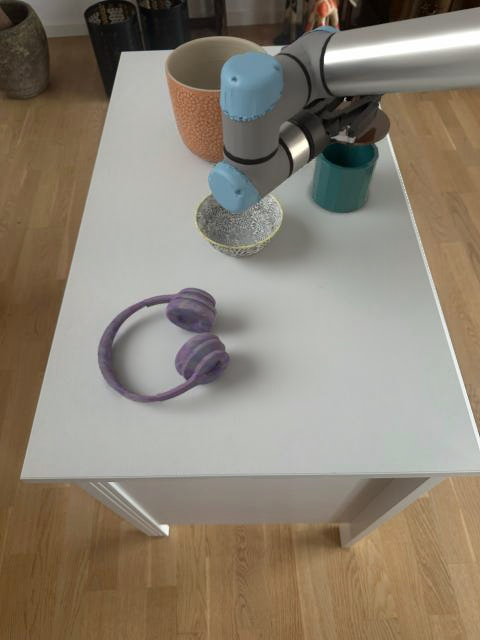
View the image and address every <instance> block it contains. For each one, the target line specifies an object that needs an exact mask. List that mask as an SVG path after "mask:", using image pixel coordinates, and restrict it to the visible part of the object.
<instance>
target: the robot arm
mask: <svg viewBox="0 0 480 640" xmlns="http://www.w3.org/2000/svg"><path fill="white" fill-rule="evenodd" d="M288 45H289V46H288V47H286V48H285V49H284V50H282V51H281V50H280V51H279V52H278V53H276V54H275V55H271V54H269V53H268V54H266V53H262V52H246V53H245V54H243V55H240V54H238V55H235V56H233V57H231V58H230V59H229V60H228V61H227V62H226V63H225V64H224V66H223V68H222V71H221V96H220V106H221V111H222V126H223V142H224V145H223V155H224V159H223V161H222V162H218V163H217V164H216V165H215V166H214V167H213V168H211V169H210V172H209V174H208V178H207V179H208V186H209V190H210V193H211V192H212V194H213V196H214V198H215V199H216V201H217V202H218V203H219V204H220V205H221V206H222V207H223V208H225V209H227V210H228V211H230V212H232V213H241V212H244V211H245V210H247V209H248V208H250V207H251V206H253V205H254V204H257V203H259V202H260V201H261V200H262V199H263V198H264V197H265V196H267V195H268V194H269V193H270V194H271V193H272V192H273V191H274V190H275V189H277V188H278V187H279V186H280V185H282V184H283V183H284V182H285V181H287V179H289V178H291V177H292V176H293V175H294V174H296V173H297V172H298V171H300V170H301V169H302V168H304V167H305V166H306V165H307V164H309V163H310V162H311V161H313V160H315V158H316V157H317V156H318V155H319V154H320V153H321V152H322V151H323V150H324V149H325V148H326V146H327V145H330V144H334V143H336V142H337V141H338V140H339V141H345V142H346V146H347V147H353V146H354V142H355V139H356V138H357V137H358V136H359V135H360V134H361V133H362V132H363V131H364V130H365V129H366V128H367V127H368V126H369V125H370V124H371V123H372V122H373V121H374V120H375V118H376V115H377V112H378V108H380V103H381V101H382V98H383V96H385V95H388V94H389V95H391V94H409V93H426V92H427V93H428V92H445V91H446V92H447V91H460V90H461V91H463V90H480V6H478V7H473V8H468V9H467V8H466V9H461V10H456V11H450V12H444V13H439V14H438V13H437V14H433V15H426V16H421V17H416V18H409V19H403V20H397V21H392V22H386V23H382V24H375V25H371V26H370V25H369V26H363V27H358V28H352V29H347V30H340V29H337V28H335V27H333V26H331V25H322V26H318V27H317V28H314V29H313V30H310V31H307V32H305V33H303V34H302V35H301V36H300V37H298V38H297V40H295V41H293V42H292V43H291V44H288ZM356 95H364V97H363V98H362V99H360V100H358V101H356V102H355V103H353V104H351V105H349V106H347V107H345V108H344V109H342V110H340V109H337V110H335V109H336V108H337V107H338V106H339V105H340V104H341V103H342V102H343V101H348V102H350V101H351V97H352V96H356ZM334 110H335V111H334ZM350 123H351V126H347V128H346V129H345V130H344V131H341V130H342V128H343V127H344V126H346V125H348V124H350ZM340 131H341V132H340Z"/></svg>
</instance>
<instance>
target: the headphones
mask: <svg viewBox="0 0 480 640" xmlns="http://www.w3.org/2000/svg"><path fill="white" fill-rule="evenodd" d="M164 304H167V305H166V308H165V316H166V318H167V319H168V320H169V321H170V322H171V323H172V324H173V325H175V326H176V327H178V328H180V329H182V330H185V331H188V332H192V333H198V334H195V335H194V336H192V337H190V338H189V339H188V340H187V341H186V342H185V343H184V344H183V345H182V346H181V347H180V348H179V350H178V352H177V353H176V356H175V359H174V368H175V371H176V372H177V373H178V374H179V375H180V376H182V378H184V380H185V381H184V382H183V383H181V384H179V385H178V386H176V387H174V388H173V387H172V388H171V389H169V390H166V391H163V392H159V393H156V395H143V394H142V395H141V394H136V393H133V392H131V391H128V390H127V389H126V388H124V387H123V386H122V385H121V384H120V382H118V380H117V378H116V376H115V374H114V370H113V365H112V349H113V345H114V341H115V337H116V336H117V333H118V332H119V330H120V329H121V327H122V325H123V324H124V323H125V321H127V320H128V319H129V318H130V317H131V316H132V315H134V314H135V313H136V312H138V311H140V310H142V309H143V308H145V307H146V308H150V307H154V306H158V305H164ZM216 305H217V301H216V299H215V298H214V296H213V295H212V294H210V293H209V292H207V291H205V290H203V289H201V288H196V287H186V288H183V289H181V290H180V291H178V292H177V293H172V294H161V295H156V296H151V297H148V298H144V299H143V300H141V301H139V302H137V303H134V304H132V305H130V306H128V307H126V308H125V309H124V310H122V311H121V312H119V314H117V315H116V316H115V317H114V318H113V319H112V320H111V321H110V322H109V324H108V325H107V326H106V328H105V329H104V331H103V333H102V335H101V338H100V340H99V343H98V347H97V362H98V367H99V370H100V374H101V375H102V377H103V379H104V380H105V381H106V383H107V384H108V385H109V386H110V387H111V388H112V389H113V390H114V391H115V392H117V393H118V394H119V395H120V396H122V397H124V398H125V399H127V400H129V401H132V402H135V403H136V402H137V403H154V402H155V403H156V402H165V401H169V400H171V399H174V398H177V397H179V396H181V395H183V394H185V393H186V392H188V391H190V390H191V389H193V388H195V387H198V386H201V385H207V384H210V383H212V382H214V381H215V380H217V379H218V378H219V377H220V376H221V375H222V374H223V373H224V372H225V371H226V369H227V367H228V366H229V363H230V355H229V353H228V352H227V351H226V344H224V343H223V341H222V340H221V339H220V338H219V336H218V335H216V333H213V332H209V331H210V330H212V328H214V326H215V323H216V318H217V315H218V314H217V313H218V312H217V309H216Z"/></svg>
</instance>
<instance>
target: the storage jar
mask: <svg viewBox="0 0 480 640" xmlns="http://www.w3.org/2000/svg"><path fill="white" fill-rule="evenodd" d="M379 158H380V152H379V147H378V146H377V145H376V143H373V144H370V145H364V146H353V147H347V146H346V145H345V144H341V143H338V142H336V143H334V144H330V145H327V146H326V148H325V149H324V150H323V151H322V152H321V153H320V154H319V155H318V156H317V157H315V158H314V166H313V172H312V178H311V185H310V195H311V199H312V200H313V202H314V203H315V204H316V205H317V206H318V207H320V208H321V209H324V210H326V211H328V212H333V213H340V214H341V213H342V214H343V213H350V212H354V211H356V210H358V209H360V208H361V207H362V206H363V205H364V204H365V202H366V200H367V198H368V195H369V192H370V189H371V185H372V181H373V177H374V174H375V171H376V167H377V165H378V161H379Z"/></svg>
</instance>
